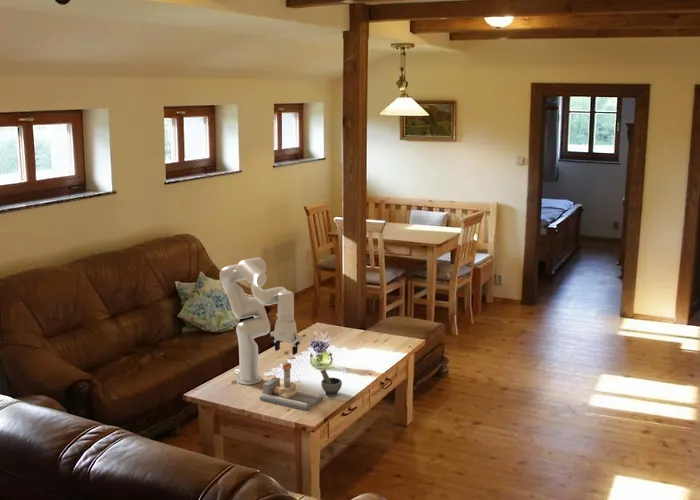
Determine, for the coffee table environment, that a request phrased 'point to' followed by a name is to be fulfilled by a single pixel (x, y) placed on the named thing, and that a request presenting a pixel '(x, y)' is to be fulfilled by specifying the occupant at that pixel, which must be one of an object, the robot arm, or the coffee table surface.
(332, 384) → the mortar and pestle
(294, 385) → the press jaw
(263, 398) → the nut press base
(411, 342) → the coffee table surface
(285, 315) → the robot arm
